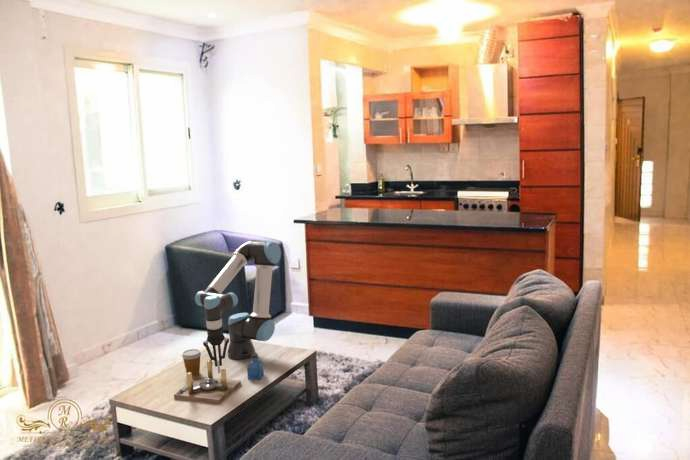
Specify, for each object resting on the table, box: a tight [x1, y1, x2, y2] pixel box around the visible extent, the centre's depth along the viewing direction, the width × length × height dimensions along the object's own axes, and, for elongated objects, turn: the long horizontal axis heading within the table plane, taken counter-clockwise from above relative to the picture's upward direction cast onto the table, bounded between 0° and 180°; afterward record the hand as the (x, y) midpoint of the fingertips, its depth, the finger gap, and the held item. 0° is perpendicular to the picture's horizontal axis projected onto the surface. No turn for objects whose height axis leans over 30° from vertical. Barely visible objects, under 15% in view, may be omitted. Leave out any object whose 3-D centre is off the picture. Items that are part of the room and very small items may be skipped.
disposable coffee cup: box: [181, 348, 202, 378], centre depth 296 cm, size 10×10×12 cm
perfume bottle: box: [246, 353, 265, 381], centre depth 289 cm, size 6×6×12 cm
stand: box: [173, 375, 242, 405], centre depth 276 cm, size 21×24×4 cm
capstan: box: [186, 359, 228, 394], centre depth 277 cm, size 16×18×10 cm
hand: (219, 371), depth 285 cm, fingers closed
